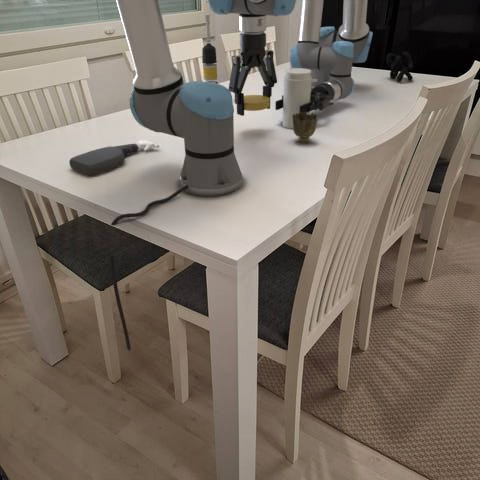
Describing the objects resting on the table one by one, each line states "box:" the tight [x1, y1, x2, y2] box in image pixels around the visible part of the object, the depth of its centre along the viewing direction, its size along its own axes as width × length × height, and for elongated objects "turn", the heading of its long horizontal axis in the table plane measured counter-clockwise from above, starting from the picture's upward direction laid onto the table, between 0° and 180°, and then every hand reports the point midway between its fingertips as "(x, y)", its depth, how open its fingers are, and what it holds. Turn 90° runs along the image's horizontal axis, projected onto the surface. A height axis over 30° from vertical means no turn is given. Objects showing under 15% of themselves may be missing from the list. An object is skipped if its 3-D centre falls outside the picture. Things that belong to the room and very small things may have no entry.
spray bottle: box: [68, 139, 160, 177], centre depth 124 cm, size 3×11×24 cm
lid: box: [244, 94, 269, 112], centre depth 137 cm, size 10×10×2 cm
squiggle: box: [385, 51, 414, 83], centre depth 198 cm, size 11×10×15 cm
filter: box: [201, 14, 219, 84], centre depth 171 cm, size 6×6×30 cm
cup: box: [292, 111, 319, 144], centre depth 132 cm, size 8×7×8 cm
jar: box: [282, 68, 312, 130], centre depth 144 cm, size 9×9×17 cm
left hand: (253, 111), depth 138 cm, fingers closed on lid, 10 cm apart
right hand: (288, 108), depth 142 cm, fingers closed on jar, 9 cm apart
